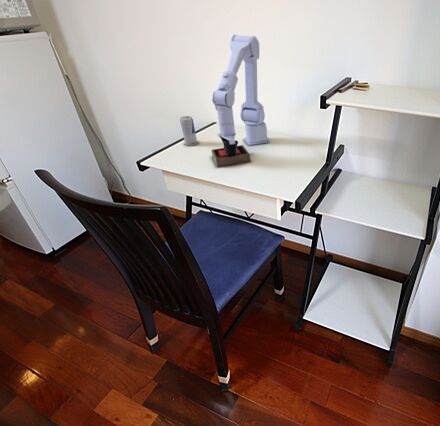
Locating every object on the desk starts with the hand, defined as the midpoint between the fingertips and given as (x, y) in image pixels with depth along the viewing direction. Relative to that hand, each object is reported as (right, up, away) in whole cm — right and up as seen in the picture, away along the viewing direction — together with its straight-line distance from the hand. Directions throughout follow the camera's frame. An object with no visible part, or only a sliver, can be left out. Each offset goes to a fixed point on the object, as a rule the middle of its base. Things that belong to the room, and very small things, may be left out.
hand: (230, 154), depth 127 cm
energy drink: (-22, +8, +14) cm, 27 cm away
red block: (-1, +2, +1) cm, 3 cm away
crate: (0, -2, +1) cm, 2 cm away
